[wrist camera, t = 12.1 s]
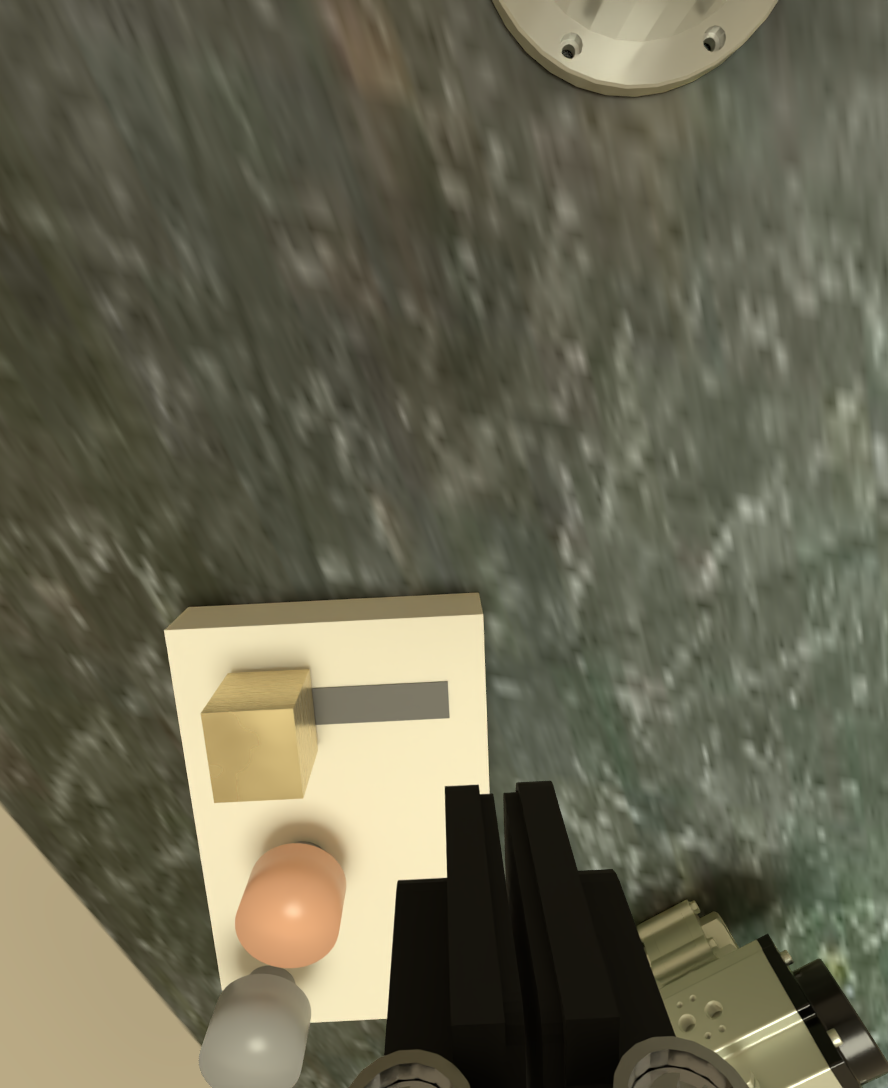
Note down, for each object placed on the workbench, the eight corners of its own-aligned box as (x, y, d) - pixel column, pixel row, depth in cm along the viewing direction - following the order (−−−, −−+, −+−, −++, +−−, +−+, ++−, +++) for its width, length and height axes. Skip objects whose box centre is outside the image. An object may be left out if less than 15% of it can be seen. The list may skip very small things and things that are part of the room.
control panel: (478, 592, 33) (483, 614, 30) (492, 963, 38) (497, 1014, 35) (188, 607, 33) (163, 631, 30) (243, 976, 38) (227, 1028, 35)
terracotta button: (346, 820, 32) (334, 879, 28) (353, 899, 33) (343, 965, 29) (252, 825, 32) (228, 884, 28) (263, 903, 33) (241, 970, 29)
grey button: (312, 946, 32) (296, 1020, 29) (320, 1019, 33) (306, 1099, 30) (219, 950, 32) (191, 1025, 29) (231, 1023, 33) (206, 1104, 30)
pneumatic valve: (787, 910, 38) (946, 1152, 26) (603, 1004, 39) (676, 1274, 27) (742, 838, 36) (888, 1059, 25) (554, 939, 38) (609, 1191, 26)
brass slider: (309, 669, 30) (293, 708, 26) (318, 750, 31) (303, 798, 27) (227, 673, 30) (200, 713, 26) (239, 754, 31) (214, 803, 27)
